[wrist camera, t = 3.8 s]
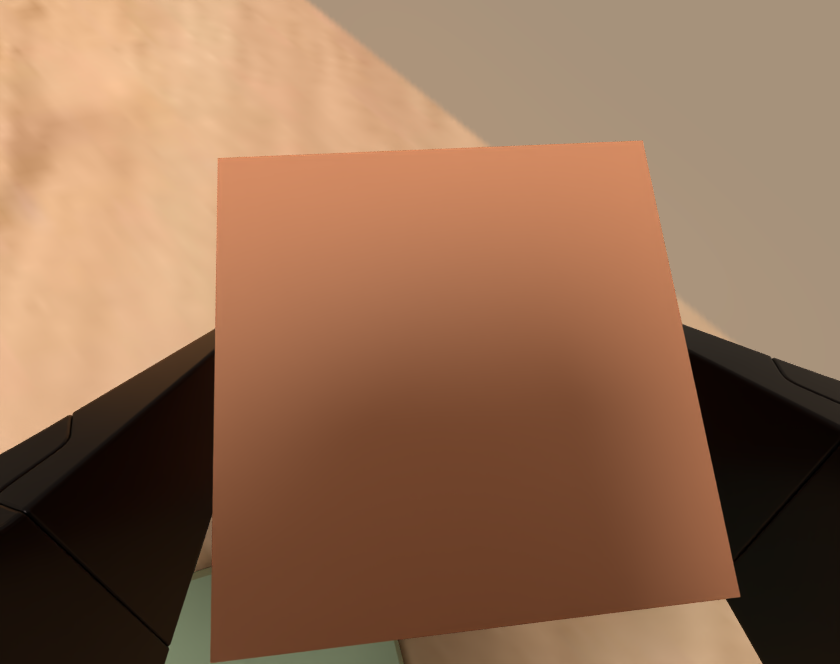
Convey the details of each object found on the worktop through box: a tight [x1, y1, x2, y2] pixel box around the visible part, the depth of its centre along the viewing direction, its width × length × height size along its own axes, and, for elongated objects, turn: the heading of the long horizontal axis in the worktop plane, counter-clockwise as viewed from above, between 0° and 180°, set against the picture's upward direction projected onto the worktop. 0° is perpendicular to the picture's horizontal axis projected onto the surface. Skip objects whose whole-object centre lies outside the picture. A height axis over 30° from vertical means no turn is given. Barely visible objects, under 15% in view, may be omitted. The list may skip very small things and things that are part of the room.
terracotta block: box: [210, 141, 740, 663], centre depth 8 cm, size 5×5×9 cm
